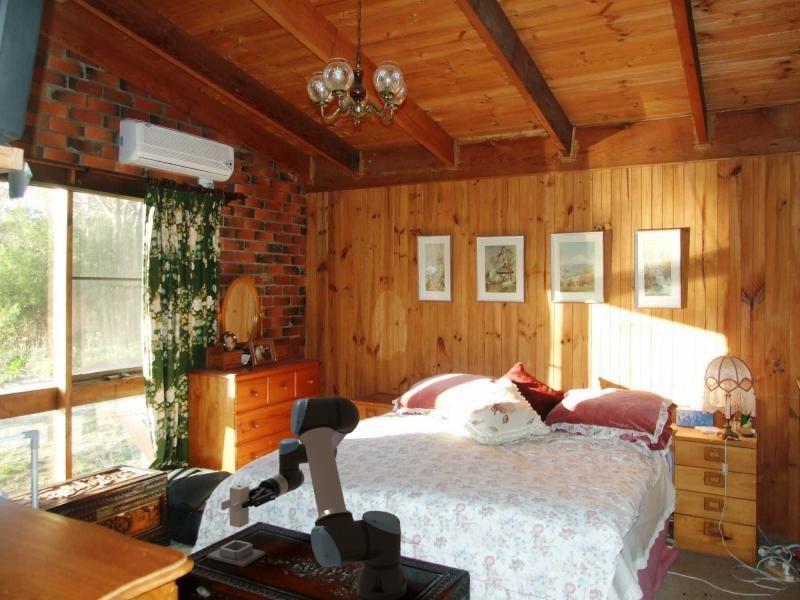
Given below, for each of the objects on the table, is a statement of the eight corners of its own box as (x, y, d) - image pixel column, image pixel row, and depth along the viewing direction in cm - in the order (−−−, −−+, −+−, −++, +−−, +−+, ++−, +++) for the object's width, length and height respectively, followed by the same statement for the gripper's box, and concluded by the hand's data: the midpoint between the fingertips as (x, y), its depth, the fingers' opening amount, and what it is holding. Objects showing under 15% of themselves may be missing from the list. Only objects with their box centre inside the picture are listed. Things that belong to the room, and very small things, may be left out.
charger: (248, 523, 220) (248, 485, 219) (239, 527, 216) (239, 488, 215) (238, 521, 222) (238, 483, 221) (229, 525, 218) (229, 486, 217)
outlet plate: (265, 554, 220) (265, 544, 220) (243, 567, 210) (243, 556, 210) (229, 546, 227) (229, 536, 227) (207, 557, 217) (207, 547, 217)
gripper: (291, 502, 230) (248, 523, 210) (254, 494, 238) (208, 514, 218) (291, 481, 230) (248, 500, 209) (254, 474, 238) (208, 492, 218)
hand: (228, 507), depth 214 cm, fingers closed on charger, 4 cm apart
